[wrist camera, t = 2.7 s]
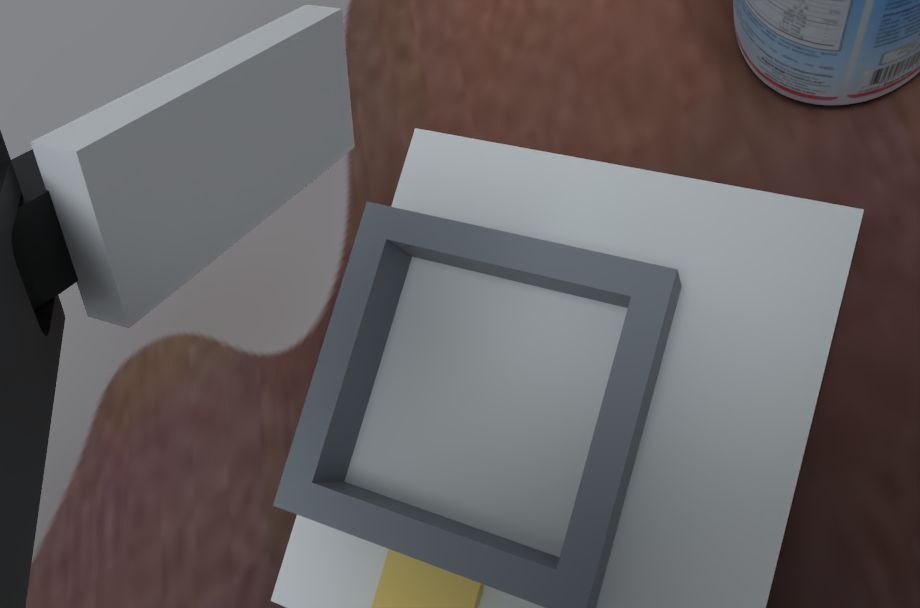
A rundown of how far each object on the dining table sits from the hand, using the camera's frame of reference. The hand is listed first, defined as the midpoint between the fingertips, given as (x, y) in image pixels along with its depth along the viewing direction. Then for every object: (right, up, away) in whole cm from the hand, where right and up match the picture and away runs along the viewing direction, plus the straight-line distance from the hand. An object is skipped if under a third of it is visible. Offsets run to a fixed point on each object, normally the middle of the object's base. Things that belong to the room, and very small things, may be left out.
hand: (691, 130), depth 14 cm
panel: (-1, -6, +12) cm, 13 cm away
